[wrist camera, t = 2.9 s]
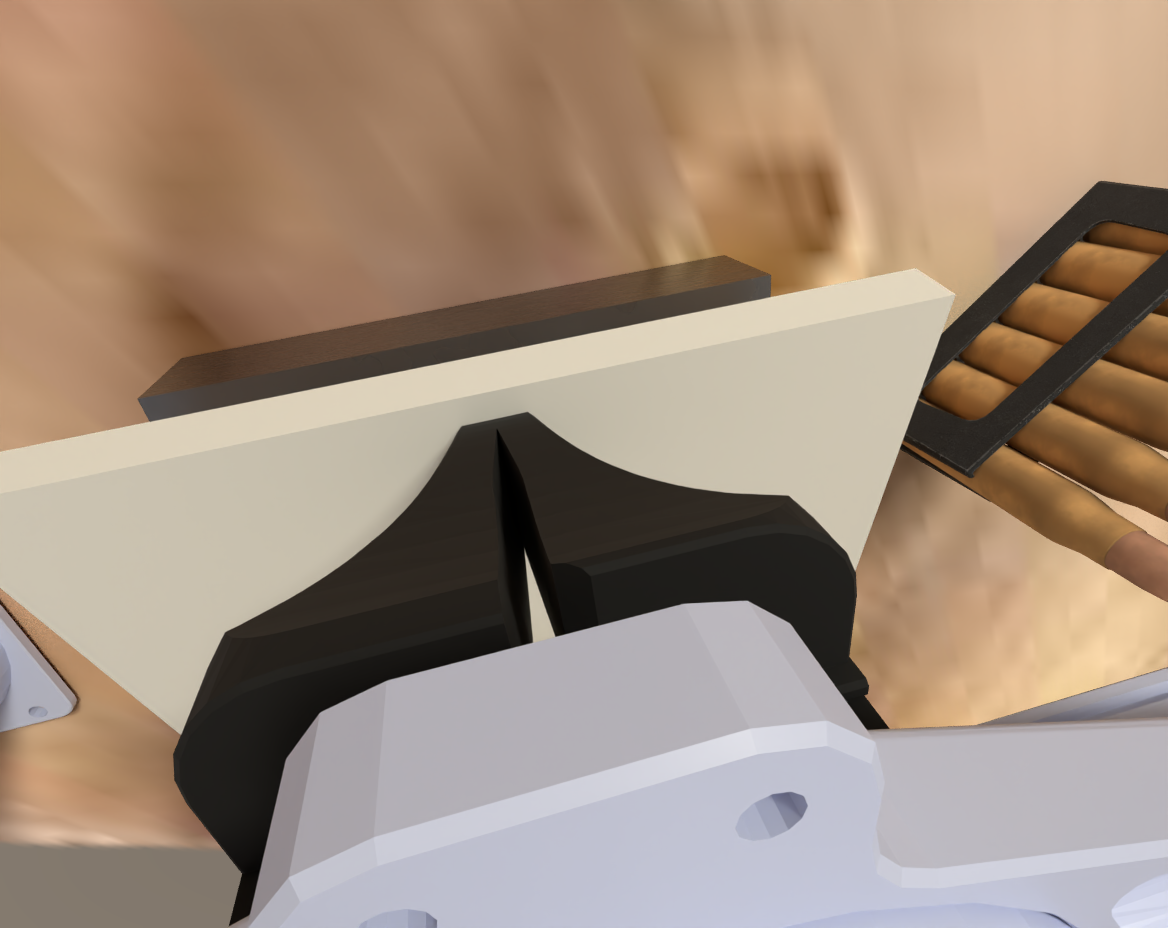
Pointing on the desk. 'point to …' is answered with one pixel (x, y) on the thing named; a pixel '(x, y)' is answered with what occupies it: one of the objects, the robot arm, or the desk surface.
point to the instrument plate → (417, 446)
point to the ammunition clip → (1065, 384)
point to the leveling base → (449, 335)
